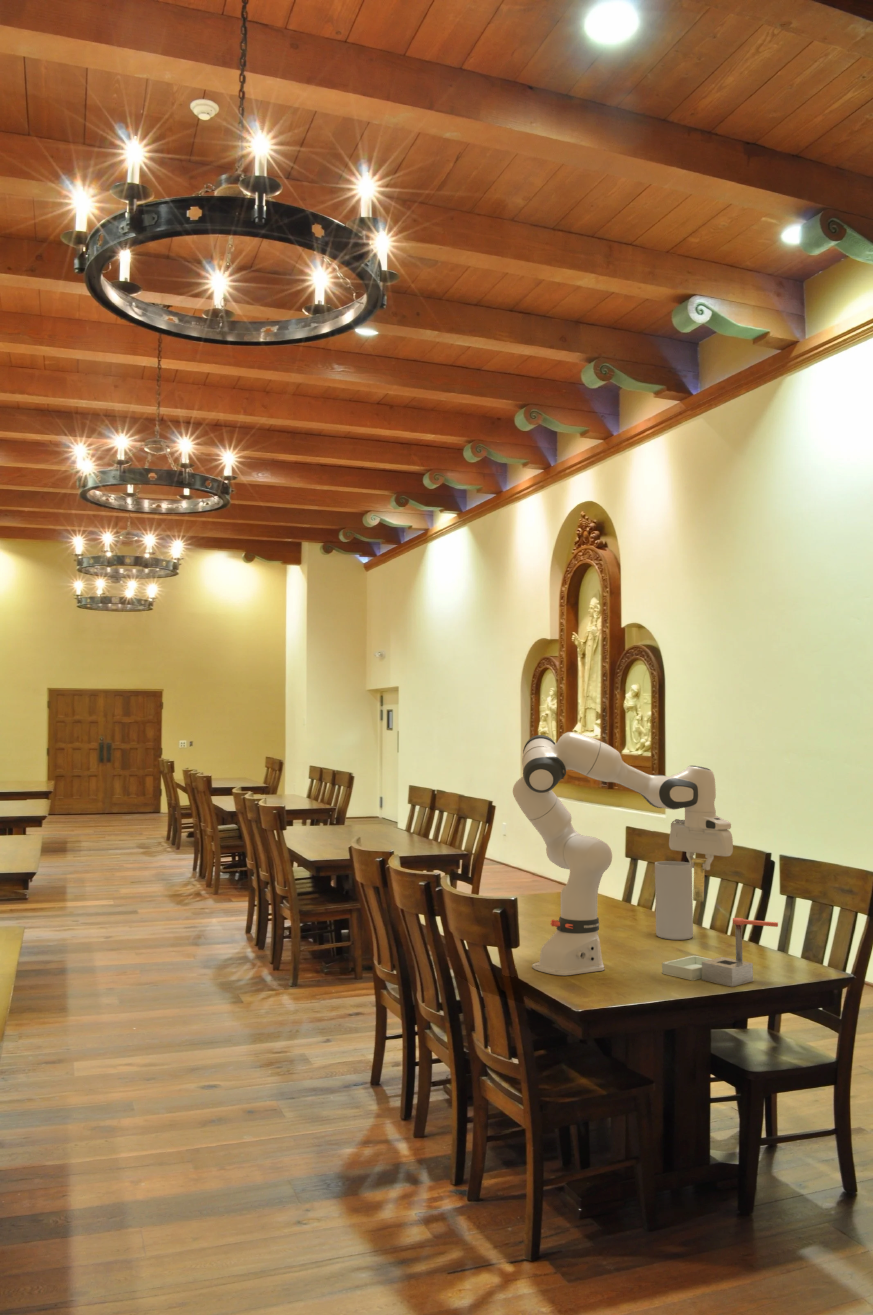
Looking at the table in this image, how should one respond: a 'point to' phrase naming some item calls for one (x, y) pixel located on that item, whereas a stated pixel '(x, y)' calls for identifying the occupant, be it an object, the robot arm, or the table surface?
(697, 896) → the pin
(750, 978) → the socket block
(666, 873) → the cylinder vase
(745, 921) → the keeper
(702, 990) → the table surface
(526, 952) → the table surface
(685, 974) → the tray
